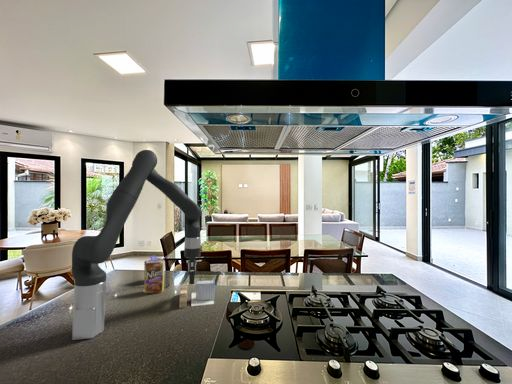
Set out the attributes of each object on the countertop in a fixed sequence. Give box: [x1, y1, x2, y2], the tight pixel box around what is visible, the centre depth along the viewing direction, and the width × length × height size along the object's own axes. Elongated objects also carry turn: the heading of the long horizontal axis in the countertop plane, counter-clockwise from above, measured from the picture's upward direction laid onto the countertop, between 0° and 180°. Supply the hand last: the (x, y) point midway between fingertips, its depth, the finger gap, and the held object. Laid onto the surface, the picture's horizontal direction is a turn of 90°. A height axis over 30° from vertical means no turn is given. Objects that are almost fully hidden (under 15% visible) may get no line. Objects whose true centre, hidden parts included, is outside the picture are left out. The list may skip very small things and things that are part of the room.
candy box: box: [143, 260, 166, 294], centre depth 125 cm, size 9×4×15 cm, turn 98°
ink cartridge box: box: [143, 254, 165, 283], centre depth 142 cm, size 10×6×14 cm, turn 148°
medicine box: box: [195, 280, 216, 301], centre depth 115 cm, size 8×4×9 cm
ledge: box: [178, 283, 189, 309], centre depth 114 cm, size 16×3×5 cm, turn 14°
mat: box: [190, 292, 215, 308], centre depth 116 cm, size 16×10×1 cm, turn 14°
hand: (191, 281), depth 115 cm, fingers open, 8 cm apart
